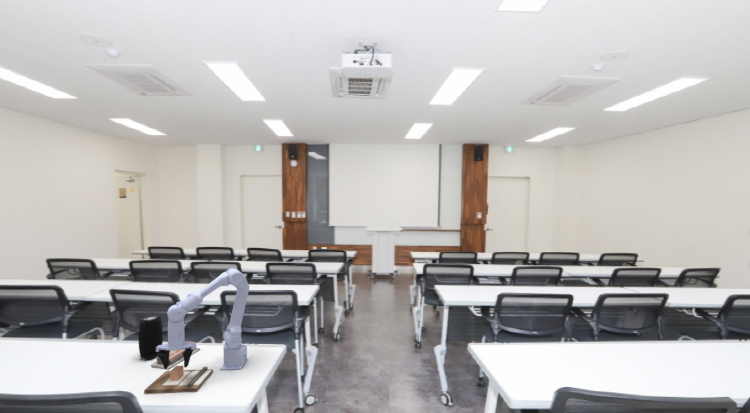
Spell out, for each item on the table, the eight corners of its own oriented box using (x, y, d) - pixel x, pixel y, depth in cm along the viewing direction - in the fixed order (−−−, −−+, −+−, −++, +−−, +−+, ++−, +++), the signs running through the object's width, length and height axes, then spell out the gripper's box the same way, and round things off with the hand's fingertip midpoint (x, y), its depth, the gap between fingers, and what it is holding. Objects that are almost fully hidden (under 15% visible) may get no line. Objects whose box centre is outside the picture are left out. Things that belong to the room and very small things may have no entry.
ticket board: (213, 372, 128) (213, 365, 128) (196, 391, 115) (196, 384, 115) (166, 374, 127) (166, 367, 127) (144, 393, 114) (144, 386, 114)
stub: (190, 372, 125) (190, 362, 125) (177, 385, 116) (177, 374, 116) (176, 372, 125) (176, 362, 125) (162, 386, 116) (162, 375, 116)
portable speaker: (166, 353, 144) (166, 314, 144) (147, 363, 135) (146, 321, 135) (154, 350, 147) (153, 312, 146) (134, 360, 138) (133, 319, 137)
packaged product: (183, 339, 149) (200, 341, 147) (183, 348, 150) (200, 350, 148) (150, 357, 132) (168, 360, 130) (150, 368, 132) (168, 371, 130)
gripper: (199, 329, 125) (199, 360, 125) (163, 331, 123) (163, 362, 123) (191, 336, 118) (191, 369, 118) (152, 339, 116) (153, 372, 116)
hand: (176, 366), depth 120 cm, fingers open, 7 cm apart
